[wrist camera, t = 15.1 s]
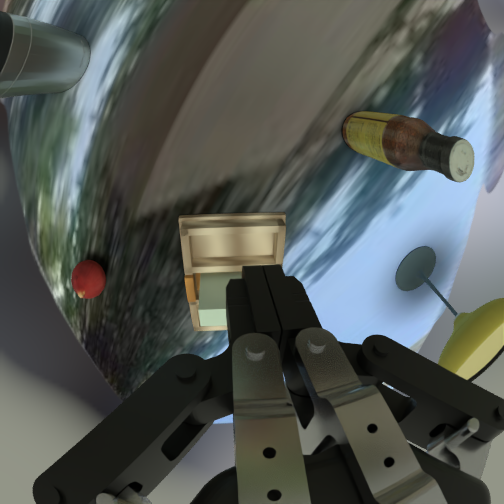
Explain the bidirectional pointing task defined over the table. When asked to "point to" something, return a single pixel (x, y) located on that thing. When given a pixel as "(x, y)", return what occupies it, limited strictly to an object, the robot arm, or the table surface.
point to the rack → (227, 248)
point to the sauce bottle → (408, 144)
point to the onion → (88, 279)
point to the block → (214, 297)
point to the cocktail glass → (459, 321)
